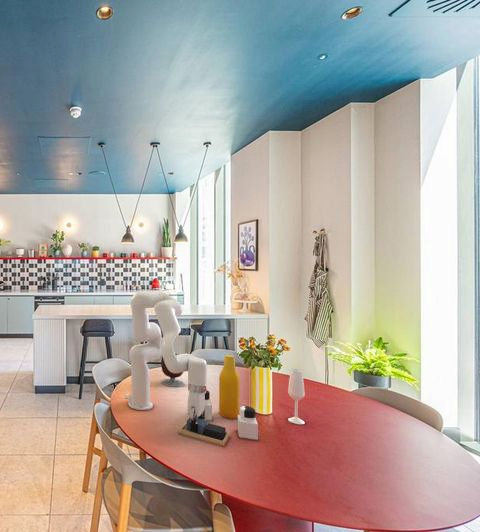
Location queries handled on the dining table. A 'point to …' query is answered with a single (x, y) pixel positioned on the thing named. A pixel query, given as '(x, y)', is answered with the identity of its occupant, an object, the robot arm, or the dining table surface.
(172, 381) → the mate gourd
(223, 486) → the dining table surface
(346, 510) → the dining table surface
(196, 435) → the wooden tray
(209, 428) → the pad
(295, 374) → the champagne flute
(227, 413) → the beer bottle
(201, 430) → the blue block
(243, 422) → the medicine bottle
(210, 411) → the container
